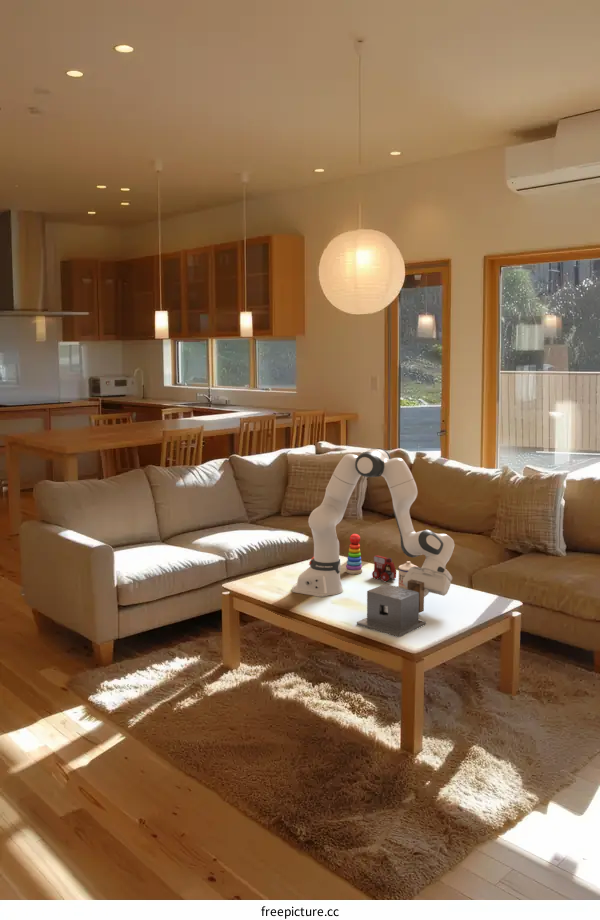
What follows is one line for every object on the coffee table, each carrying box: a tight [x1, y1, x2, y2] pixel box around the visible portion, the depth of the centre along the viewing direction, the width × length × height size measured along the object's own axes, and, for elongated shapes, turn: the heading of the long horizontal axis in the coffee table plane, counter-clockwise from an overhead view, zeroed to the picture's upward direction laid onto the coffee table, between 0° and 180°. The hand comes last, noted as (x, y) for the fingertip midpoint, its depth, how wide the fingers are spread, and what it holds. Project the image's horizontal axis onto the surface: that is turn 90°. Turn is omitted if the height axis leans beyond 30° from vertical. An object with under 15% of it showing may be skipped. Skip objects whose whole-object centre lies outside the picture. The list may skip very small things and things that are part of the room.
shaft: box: [384, 580, 425, 614], centre depth 321 cm, size 21×6×12 cm, turn 137°
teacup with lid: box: [397, 560, 419, 589], centre depth 363 cm, size 12×9×12 cm
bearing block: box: [356, 583, 427, 638], centre depth 316 cm, size 18×20×13 cm
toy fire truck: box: [371, 554, 397, 582], centre depth 375 cm, size 7×12×10 cm, turn 45°
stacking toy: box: [345, 533, 363, 575], centre depth 385 cm, size 8×8×19 cm
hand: (418, 598), depth 330 cm, fingers closed, pressing on shaft
